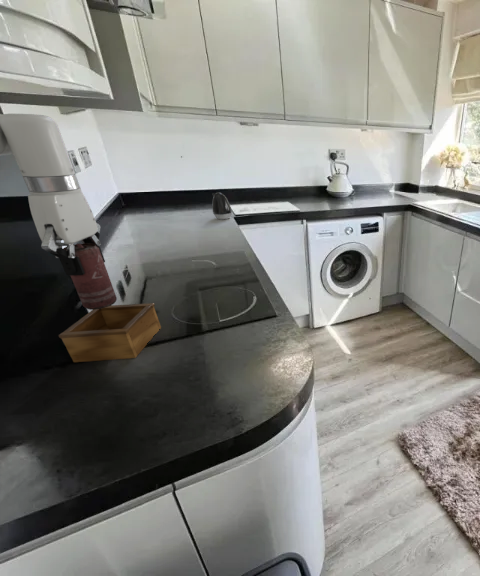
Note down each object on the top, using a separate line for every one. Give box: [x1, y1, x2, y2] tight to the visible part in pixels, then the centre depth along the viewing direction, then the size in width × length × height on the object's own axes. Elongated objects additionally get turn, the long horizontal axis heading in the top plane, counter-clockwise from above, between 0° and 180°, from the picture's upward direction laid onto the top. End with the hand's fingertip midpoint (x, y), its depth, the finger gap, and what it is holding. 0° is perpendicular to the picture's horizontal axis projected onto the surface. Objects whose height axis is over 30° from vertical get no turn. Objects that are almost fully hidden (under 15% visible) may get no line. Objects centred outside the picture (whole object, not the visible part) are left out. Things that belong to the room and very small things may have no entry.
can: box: [62, 243, 118, 311], centre depth 72 cm, size 6×6×14 cm
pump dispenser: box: [211, 192, 233, 220], centre depth 190 cm, size 10×10×15 cm
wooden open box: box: [57, 302, 162, 363], centre depth 79 cm, size 13×13×8 cm
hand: (86, 268), depth 71 cm, fingers closed on can, 6 cm apart
